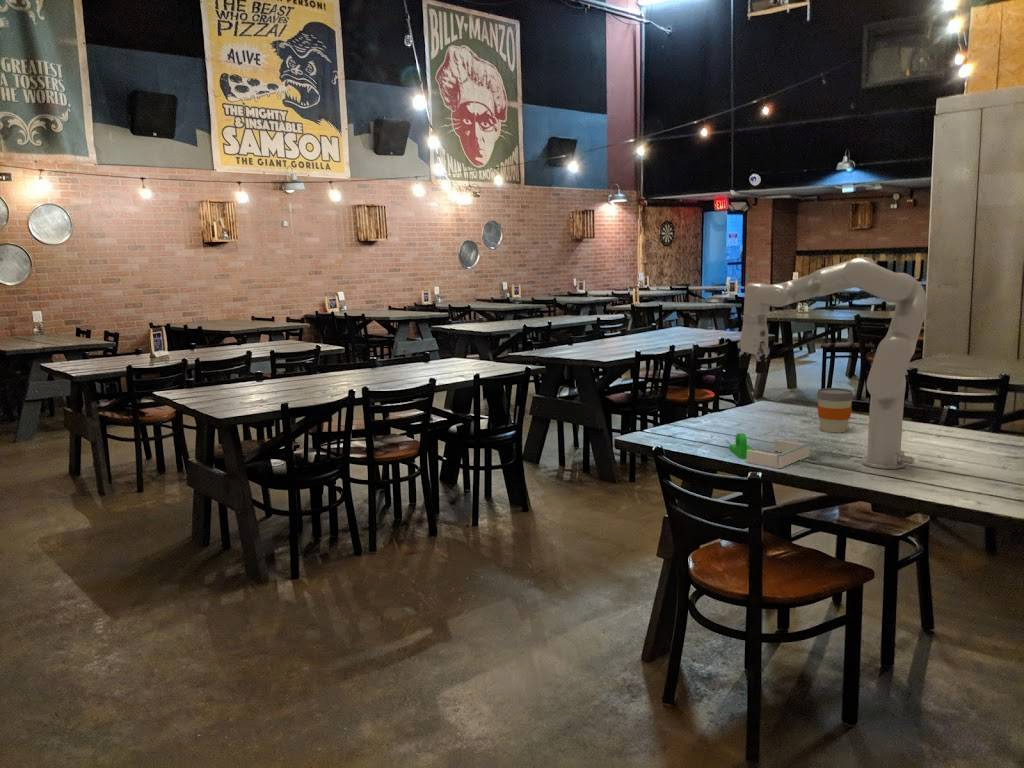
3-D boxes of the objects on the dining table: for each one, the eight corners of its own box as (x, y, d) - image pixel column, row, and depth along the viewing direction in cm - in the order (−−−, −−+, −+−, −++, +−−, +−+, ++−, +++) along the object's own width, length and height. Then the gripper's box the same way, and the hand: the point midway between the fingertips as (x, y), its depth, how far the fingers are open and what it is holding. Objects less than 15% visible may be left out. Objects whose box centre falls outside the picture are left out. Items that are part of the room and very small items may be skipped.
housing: (809, 456, 260) (809, 443, 259) (780, 468, 247) (780, 455, 246) (776, 450, 269) (776, 438, 268) (746, 462, 255) (746, 449, 255)
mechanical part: (758, 458, 260) (759, 435, 259) (740, 459, 260) (741, 435, 259) (746, 449, 272) (747, 427, 271) (729, 450, 272) (729, 427, 271)
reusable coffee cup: (857, 433, 289) (859, 393, 287) (822, 434, 290) (824, 394, 287) (843, 426, 302) (845, 387, 299) (810, 426, 302) (812, 388, 300)
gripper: (780, 322, 257) (776, 374, 260) (749, 317, 273) (746, 365, 276) (760, 323, 255) (756, 375, 258) (730, 317, 271) (727, 366, 274)
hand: (751, 370), depth 267 cm, fingers open, 9 cm apart
